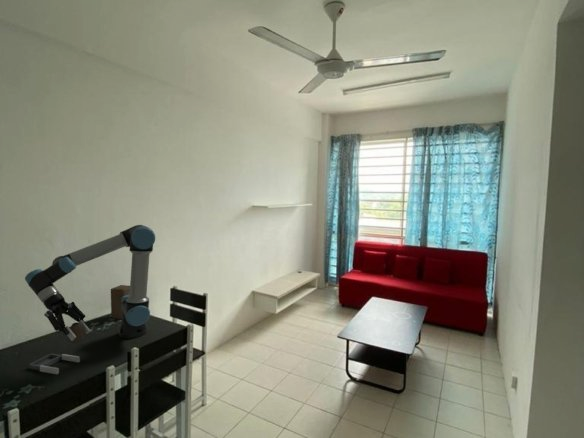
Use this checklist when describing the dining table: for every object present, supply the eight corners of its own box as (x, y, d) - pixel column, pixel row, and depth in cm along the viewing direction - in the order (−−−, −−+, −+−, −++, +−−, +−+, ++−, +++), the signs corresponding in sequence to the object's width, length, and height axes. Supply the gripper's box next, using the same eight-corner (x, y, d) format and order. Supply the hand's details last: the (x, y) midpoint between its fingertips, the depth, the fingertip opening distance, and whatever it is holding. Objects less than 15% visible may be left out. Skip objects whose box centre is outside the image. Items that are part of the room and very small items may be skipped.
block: (123, 319, 208) (123, 289, 207) (110, 318, 210) (109, 288, 209) (134, 314, 218) (133, 285, 216) (121, 312, 220) (120, 284, 218)
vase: (81, 337, 153) (81, 319, 152) (86, 341, 149) (86, 323, 148) (64, 342, 148) (64, 323, 147) (69, 346, 143) (69, 327, 143)
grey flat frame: (28, 368, 148) (28, 364, 148) (51, 357, 159) (50, 353, 159) (40, 370, 147) (40, 366, 147) (62, 359, 157) (62, 355, 157)
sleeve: (39, 371, 146) (39, 366, 146) (63, 358, 158) (63, 354, 157) (57, 374, 144) (57, 369, 144) (79, 361, 155) (79, 356, 155)
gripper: (66, 296, 160) (94, 331, 157) (25, 310, 141) (56, 350, 138) (74, 287, 158) (102, 322, 156) (34, 299, 139) (66, 339, 137)
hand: (81, 335), depth 147 cm, fingers closed on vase, 7 cm apart
